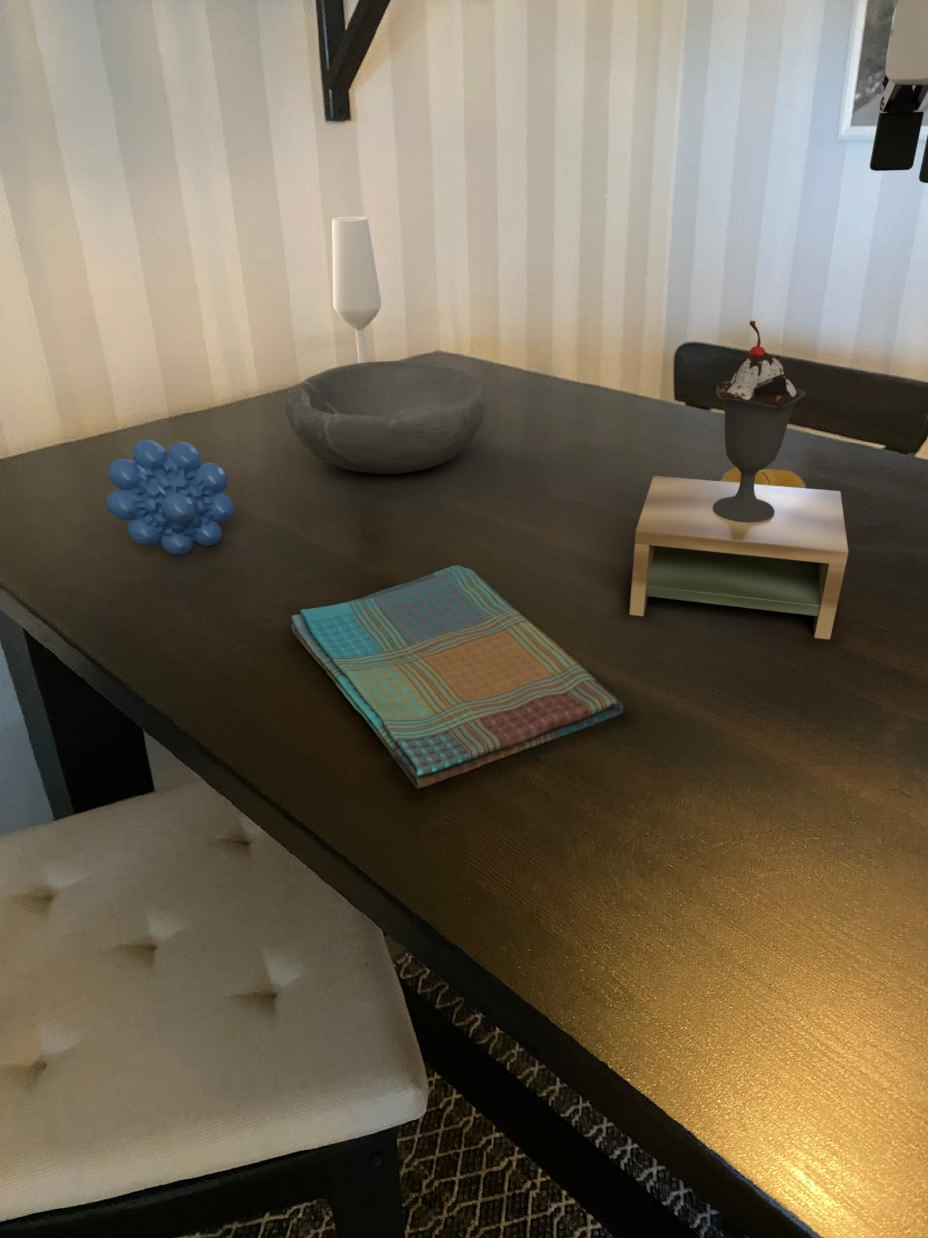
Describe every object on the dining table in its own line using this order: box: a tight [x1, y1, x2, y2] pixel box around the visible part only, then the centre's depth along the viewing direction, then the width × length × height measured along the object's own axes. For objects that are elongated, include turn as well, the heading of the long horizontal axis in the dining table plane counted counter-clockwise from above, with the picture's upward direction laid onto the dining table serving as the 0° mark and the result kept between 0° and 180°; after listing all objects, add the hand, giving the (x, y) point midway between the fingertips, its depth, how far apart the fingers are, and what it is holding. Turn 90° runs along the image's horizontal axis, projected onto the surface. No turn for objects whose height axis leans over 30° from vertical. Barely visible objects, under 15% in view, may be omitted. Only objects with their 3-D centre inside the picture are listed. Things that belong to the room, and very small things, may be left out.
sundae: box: [713, 320, 806, 522], centre depth 71 cm, size 7×7×15 cm
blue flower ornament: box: [106, 439, 236, 556], centre depth 85 cm, size 12×7×12 cm, turn 119°
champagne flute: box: [331, 215, 382, 363], centre depth 126 cm, size 7×7×24 cm
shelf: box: [628, 475, 849, 640], centre depth 77 cm, size 12×16×8 cm
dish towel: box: [290, 564, 624, 790], centre depth 69 cm, size 17×23×2 cm
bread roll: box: [720, 466, 807, 489], centre depth 94 cm, size 8×9×4 cm
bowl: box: [285, 360, 487, 475], centre depth 105 cm, size 23×22×10 cm
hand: (914, 175), depth 67 cm, fingers open, 9 cm apart
